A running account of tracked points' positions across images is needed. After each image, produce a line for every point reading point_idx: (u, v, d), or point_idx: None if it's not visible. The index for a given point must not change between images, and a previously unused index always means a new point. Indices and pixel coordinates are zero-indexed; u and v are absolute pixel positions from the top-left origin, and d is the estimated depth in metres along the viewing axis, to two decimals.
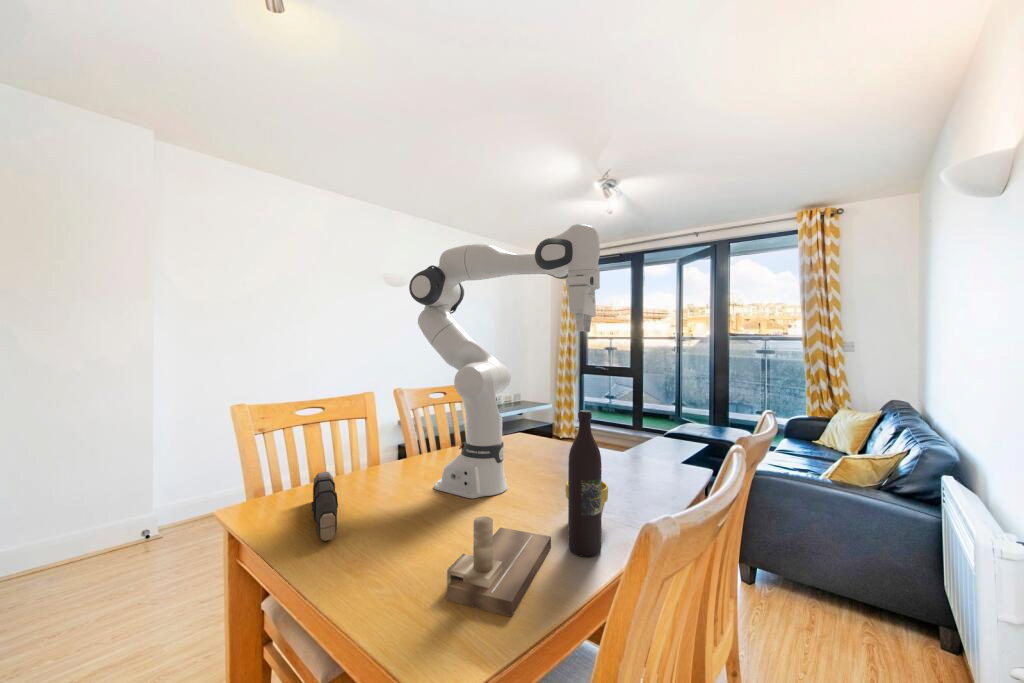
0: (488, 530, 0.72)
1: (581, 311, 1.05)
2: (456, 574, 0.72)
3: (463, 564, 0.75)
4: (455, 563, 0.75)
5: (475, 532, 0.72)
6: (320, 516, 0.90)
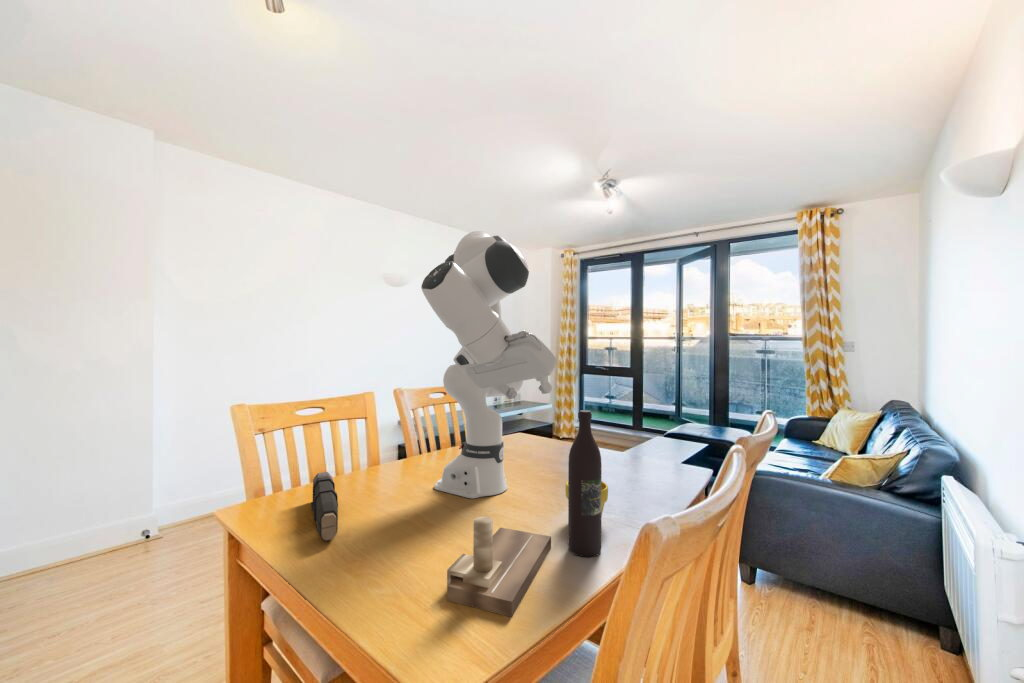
0: (488, 530, 0.72)
1: None
2: (456, 574, 0.72)
3: (463, 564, 0.75)
4: (455, 563, 0.75)
5: (475, 532, 0.72)
6: (321, 516, 0.90)
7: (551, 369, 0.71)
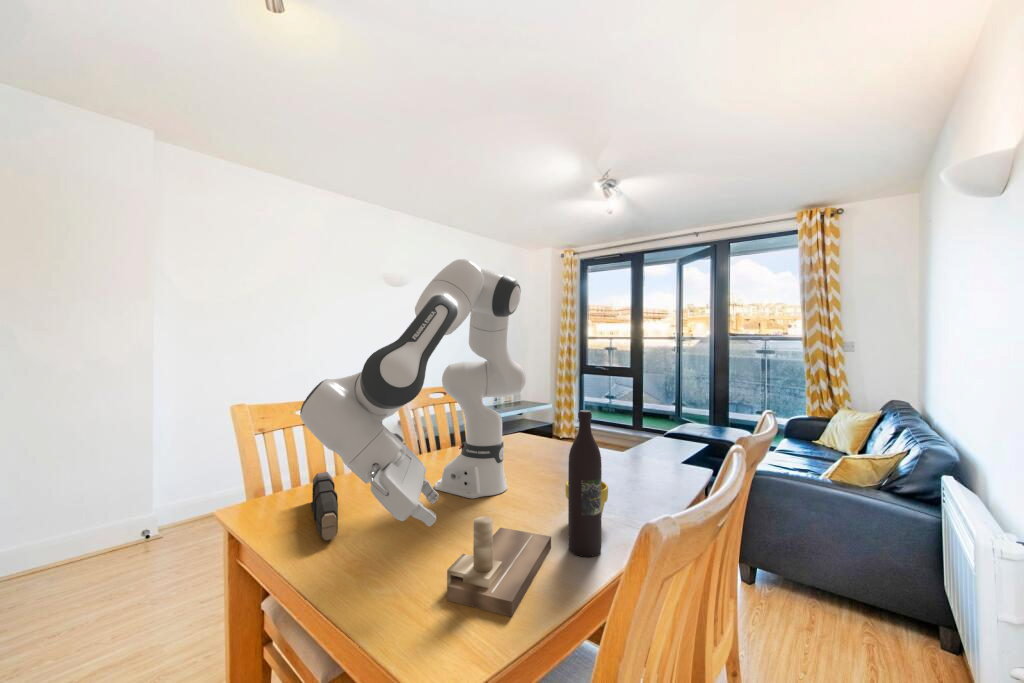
0: (488, 530, 0.72)
1: None
2: (456, 574, 0.72)
3: (463, 564, 0.75)
4: (455, 563, 0.75)
5: (475, 532, 0.72)
6: (321, 516, 0.90)
7: (400, 517, 0.62)
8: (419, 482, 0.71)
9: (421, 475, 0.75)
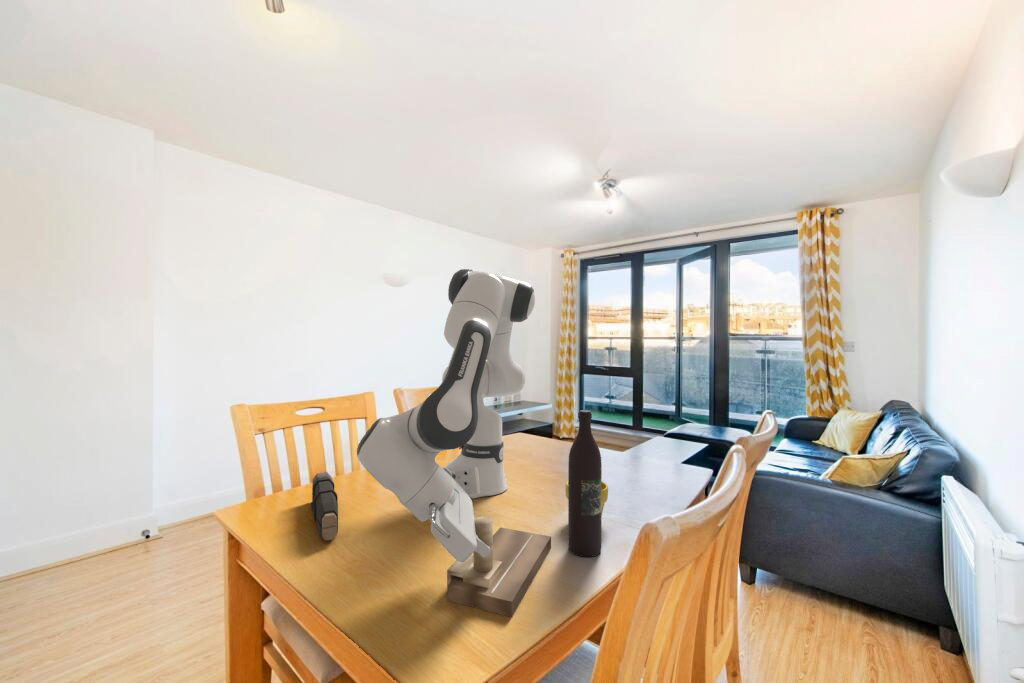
0: (488, 530, 0.72)
1: None
2: (456, 574, 0.72)
3: (463, 564, 0.75)
4: (455, 563, 0.75)
5: None
6: (322, 516, 0.90)
7: (461, 559, 0.63)
8: (471, 519, 0.73)
9: (471, 510, 0.77)
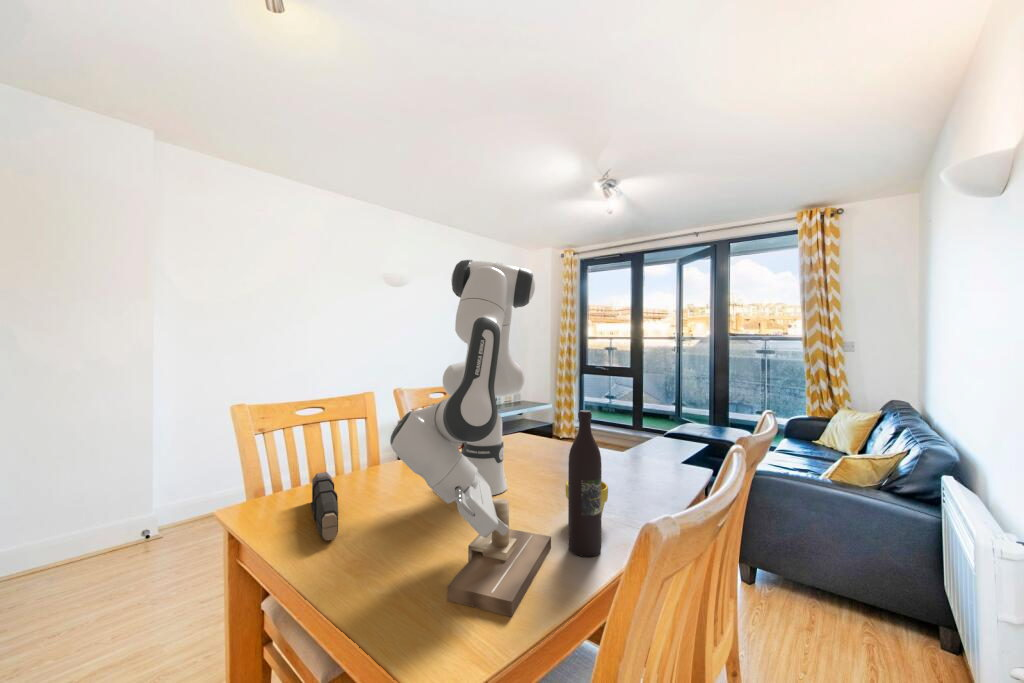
0: (505, 509, 0.81)
1: None
2: (476, 549, 0.81)
3: (482, 541, 0.83)
4: (475, 540, 0.84)
5: None
6: (322, 516, 0.90)
7: (485, 535, 0.72)
8: (491, 501, 0.81)
9: (490, 494, 0.85)
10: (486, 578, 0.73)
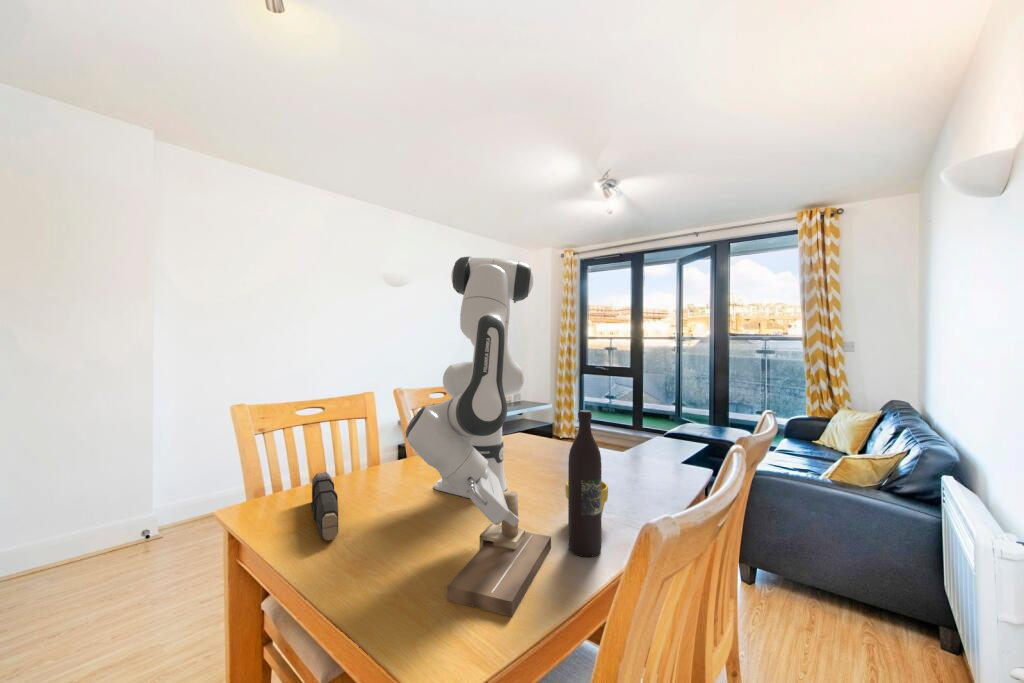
0: (515, 501, 0.85)
1: None
2: (487, 539, 0.85)
3: (492, 531, 0.88)
4: (485, 530, 0.88)
5: None
6: (322, 516, 0.90)
7: (496, 522, 0.76)
8: (501, 492, 0.86)
9: (499, 486, 0.90)
10: (486, 578, 0.73)
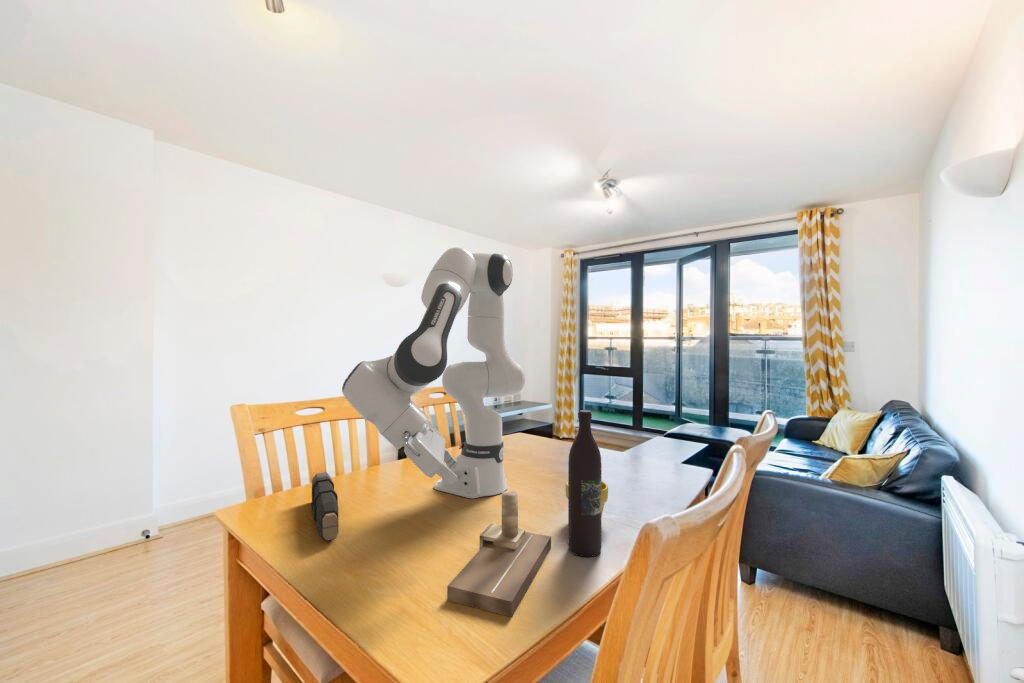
0: (515, 501, 0.85)
1: None
2: (487, 539, 0.85)
3: (492, 531, 0.88)
4: (485, 530, 0.88)
5: (503, 503, 0.85)
6: (322, 516, 0.90)
7: (429, 474, 0.74)
8: (442, 449, 0.84)
9: (442, 444, 0.88)
10: (486, 578, 0.73)
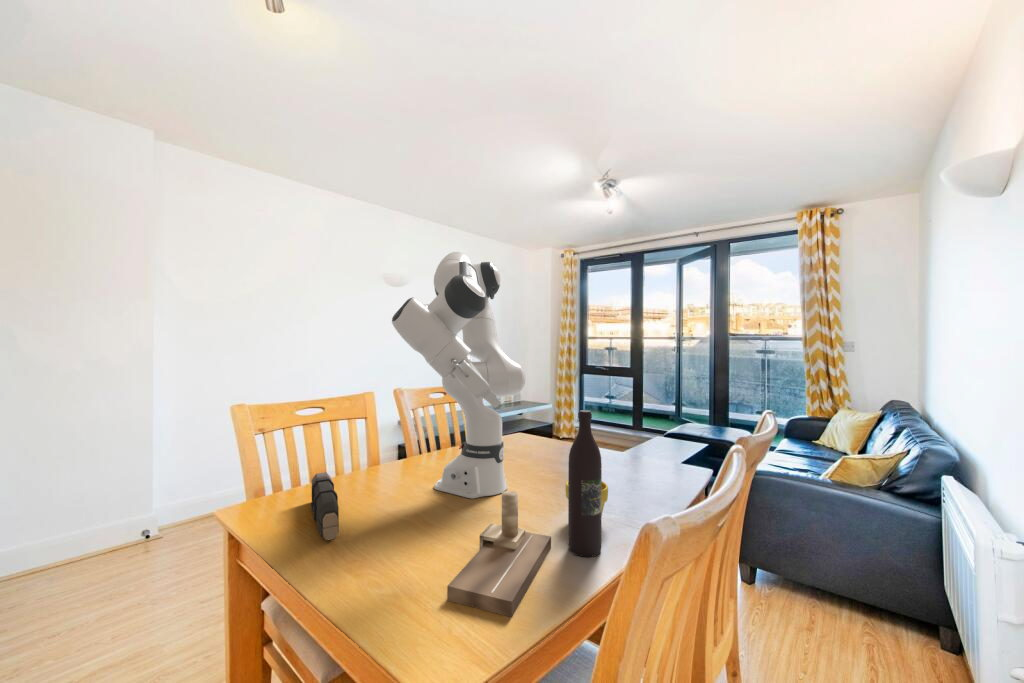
0: (515, 501, 0.85)
1: None
2: (487, 539, 0.85)
3: (492, 531, 0.88)
4: (485, 530, 0.88)
5: (503, 503, 0.85)
6: (322, 516, 0.90)
7: (477, 393, 0.81)
8: (484, 379, 0.91)
9: None
10: (486, 578, 0.73)
